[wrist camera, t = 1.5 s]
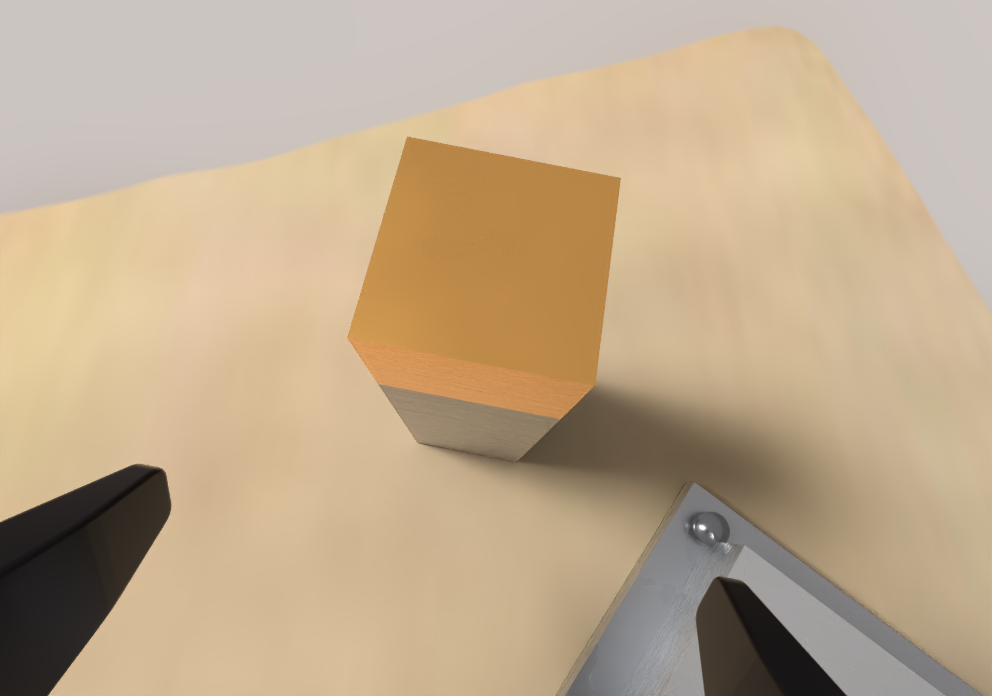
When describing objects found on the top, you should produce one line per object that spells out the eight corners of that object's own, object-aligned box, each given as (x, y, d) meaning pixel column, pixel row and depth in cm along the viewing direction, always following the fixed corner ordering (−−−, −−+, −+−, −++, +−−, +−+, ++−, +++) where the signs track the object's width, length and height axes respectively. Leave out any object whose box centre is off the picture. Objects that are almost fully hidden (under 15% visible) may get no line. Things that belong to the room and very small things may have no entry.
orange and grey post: (516, 461, 20) (595, 385, 8) (417, 442, 20) (347, 337, 8) (532, 366, 21) (621, 177, 9) (439, 348, 21) (407, 136, 9)
